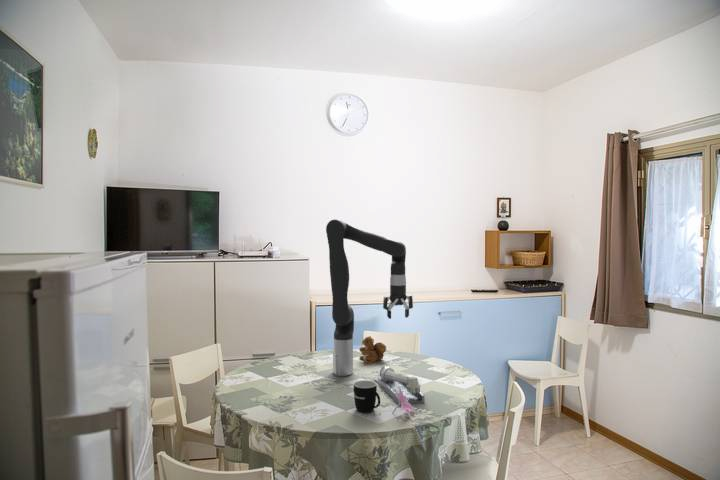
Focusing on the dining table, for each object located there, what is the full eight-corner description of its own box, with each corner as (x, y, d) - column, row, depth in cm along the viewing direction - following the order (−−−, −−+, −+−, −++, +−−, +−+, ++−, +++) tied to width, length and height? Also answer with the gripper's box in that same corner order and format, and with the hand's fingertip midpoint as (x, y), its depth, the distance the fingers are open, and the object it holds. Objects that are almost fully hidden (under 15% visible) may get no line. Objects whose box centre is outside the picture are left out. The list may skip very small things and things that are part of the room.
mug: (348, 410, 174) (348, 384, 174) (364, 403, 181) (364, 378, 181) (371, 419, 166) (371, 391, 166) (387, 411, 173) (387, 385, 172)
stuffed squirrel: (358, 359, 245) (358, 334, 245) (383, 357, 248) (383, 333, 248) (361, 364, 236) (361, 339, 235) (387, 362, 238) (387, 338, 238)
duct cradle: (424, 402, 182) (424, 386, 182) (399, 405, 179) (399, 389, 179) (396, 377, 213) (396, 364, 213) (374, 380, 210) (374, 366, 210)
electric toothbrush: (387, 368, 206) (422, 375, 185) (388, 383, 205) (423, 391, 184) (378, 369, 203) (412, 377, 182) (379, 385, 202) (413, 394, 181)
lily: (397, 426, 162) (411, 403, 162) (376, 405, 170) (388, 383, 169) (414, 426, 171) (427, 404, 171) (393, 406, 179) (405, 385, 178)
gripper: (408, 282, 220) (409, 315, 220) (381, 283, 216) (381, 317, 216) (414, 284, 213) (415, 318, 213) (386, 285, 209) (386, 320, 209)
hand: (398, 317), depth 215 cm, fingers open, 8 cm apart
